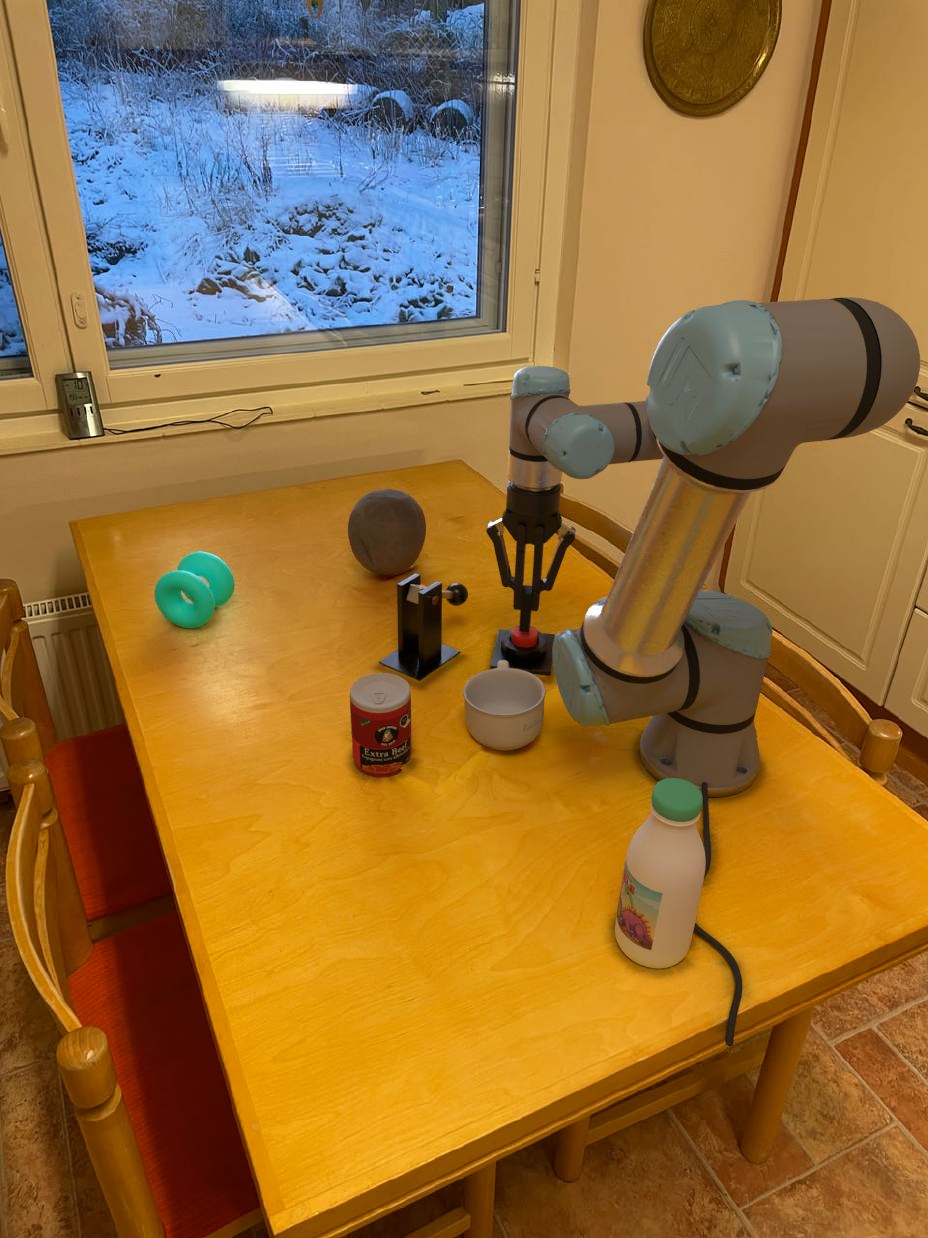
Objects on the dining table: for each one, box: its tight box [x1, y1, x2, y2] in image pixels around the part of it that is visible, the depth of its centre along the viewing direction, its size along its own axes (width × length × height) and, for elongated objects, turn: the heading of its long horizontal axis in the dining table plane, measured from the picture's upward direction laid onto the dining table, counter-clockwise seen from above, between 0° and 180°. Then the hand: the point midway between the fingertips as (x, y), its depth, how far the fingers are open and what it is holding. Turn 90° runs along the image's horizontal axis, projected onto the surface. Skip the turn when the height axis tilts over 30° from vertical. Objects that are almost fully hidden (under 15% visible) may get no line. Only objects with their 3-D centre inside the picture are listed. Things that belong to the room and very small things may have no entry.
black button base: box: [489, 628, 556, 677], centre depth 139 cm, size 11×9×4 cm
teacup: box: [462, 660, 547, 752], centre depth 122 cm, size 14×11×8 cm
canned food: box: [349, 672, 412, 778], centre depth 115 cm, size 8×8×11 cm
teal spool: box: [154, 551, 236, 629], centre depth 147 cm, size 10×10×10 cm
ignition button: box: [511, 624, 539, 648], centre depth 138 cm, size 4×4×2 cm
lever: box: [407, 582, 469, 607], centre depth 137 cm, size 13×4×4 cm, turn 143°
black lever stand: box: [378, 573, 461, 682], centre depth 135 cm, size 10×8×14 cm
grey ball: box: [347, 488, 427, 577], centre depth 161 cm, size 14×14×15 cm
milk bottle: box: [614, 778, 706, 969], centre depth 89 cm, size 8×8×20 cm
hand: (524, 627), depth 137 cm, fingers closed
